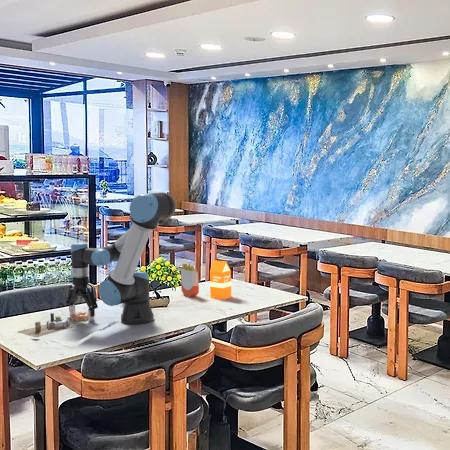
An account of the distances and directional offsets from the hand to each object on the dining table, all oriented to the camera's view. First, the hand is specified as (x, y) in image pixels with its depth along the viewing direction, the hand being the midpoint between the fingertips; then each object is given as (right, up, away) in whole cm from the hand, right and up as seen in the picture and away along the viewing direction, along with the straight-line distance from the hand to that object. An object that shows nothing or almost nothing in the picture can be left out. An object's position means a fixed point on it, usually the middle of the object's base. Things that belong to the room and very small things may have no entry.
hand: (82, 321), depth 269 cm
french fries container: (+48, +5, +52) cm, 70 cm away
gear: (-7, 0, -13) cm, 15 cm away
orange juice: (+64, +5, +47) cm, 80 cm away
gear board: (-10, -2, -17) cm, 20 cm away
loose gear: (0, 0, 0) cm, 0 cm away
